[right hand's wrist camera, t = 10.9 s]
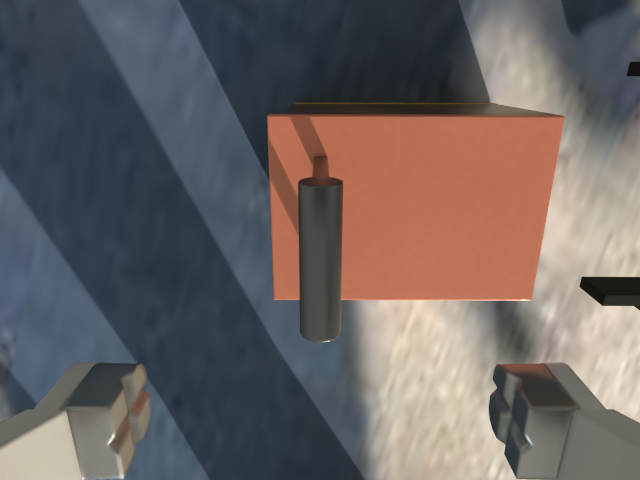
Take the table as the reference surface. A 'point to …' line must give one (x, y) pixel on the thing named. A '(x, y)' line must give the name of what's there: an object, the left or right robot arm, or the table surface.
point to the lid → (406, 208)
